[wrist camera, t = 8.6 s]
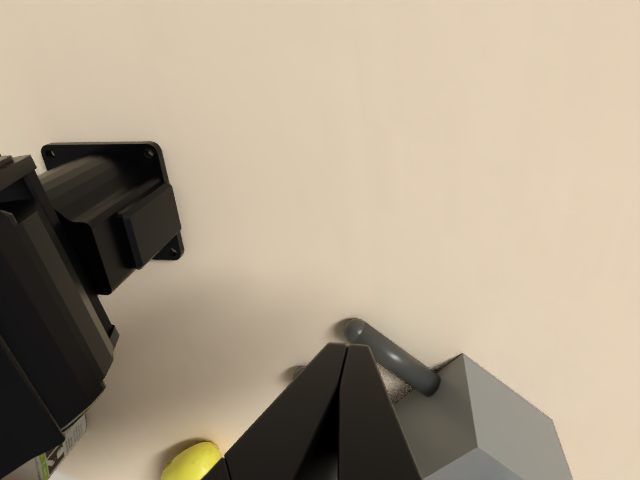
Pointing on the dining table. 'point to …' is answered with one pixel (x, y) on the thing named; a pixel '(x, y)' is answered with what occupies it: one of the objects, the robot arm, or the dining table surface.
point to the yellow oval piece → (192, 462)
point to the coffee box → (49, 456)
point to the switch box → (465, 419)
